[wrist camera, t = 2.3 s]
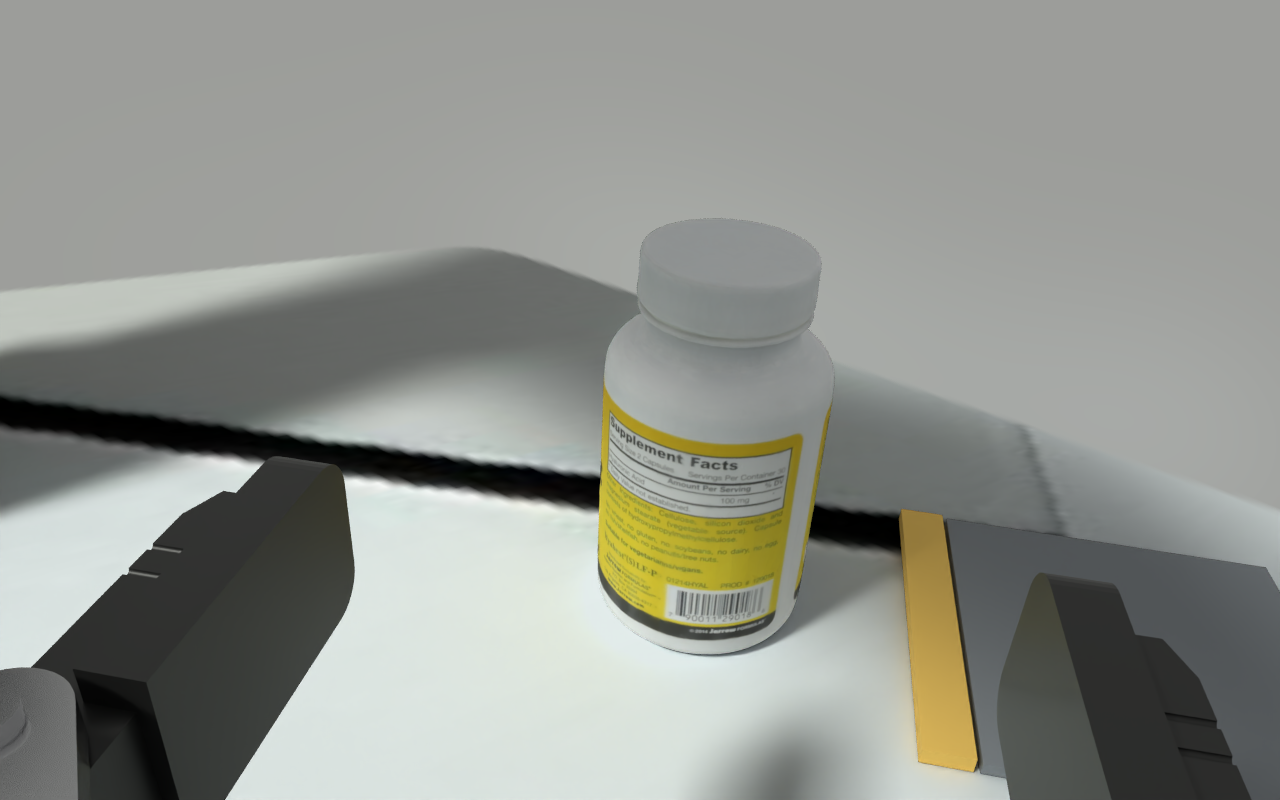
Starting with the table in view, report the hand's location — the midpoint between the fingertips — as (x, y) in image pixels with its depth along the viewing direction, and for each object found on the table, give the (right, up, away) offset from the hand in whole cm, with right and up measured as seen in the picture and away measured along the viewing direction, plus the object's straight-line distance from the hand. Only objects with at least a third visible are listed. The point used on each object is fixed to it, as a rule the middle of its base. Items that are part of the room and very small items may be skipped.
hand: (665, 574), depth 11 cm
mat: (+12, -5, +14) cm, 19 cm away
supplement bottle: (+1, -3, +15) cm, 16 cm away
